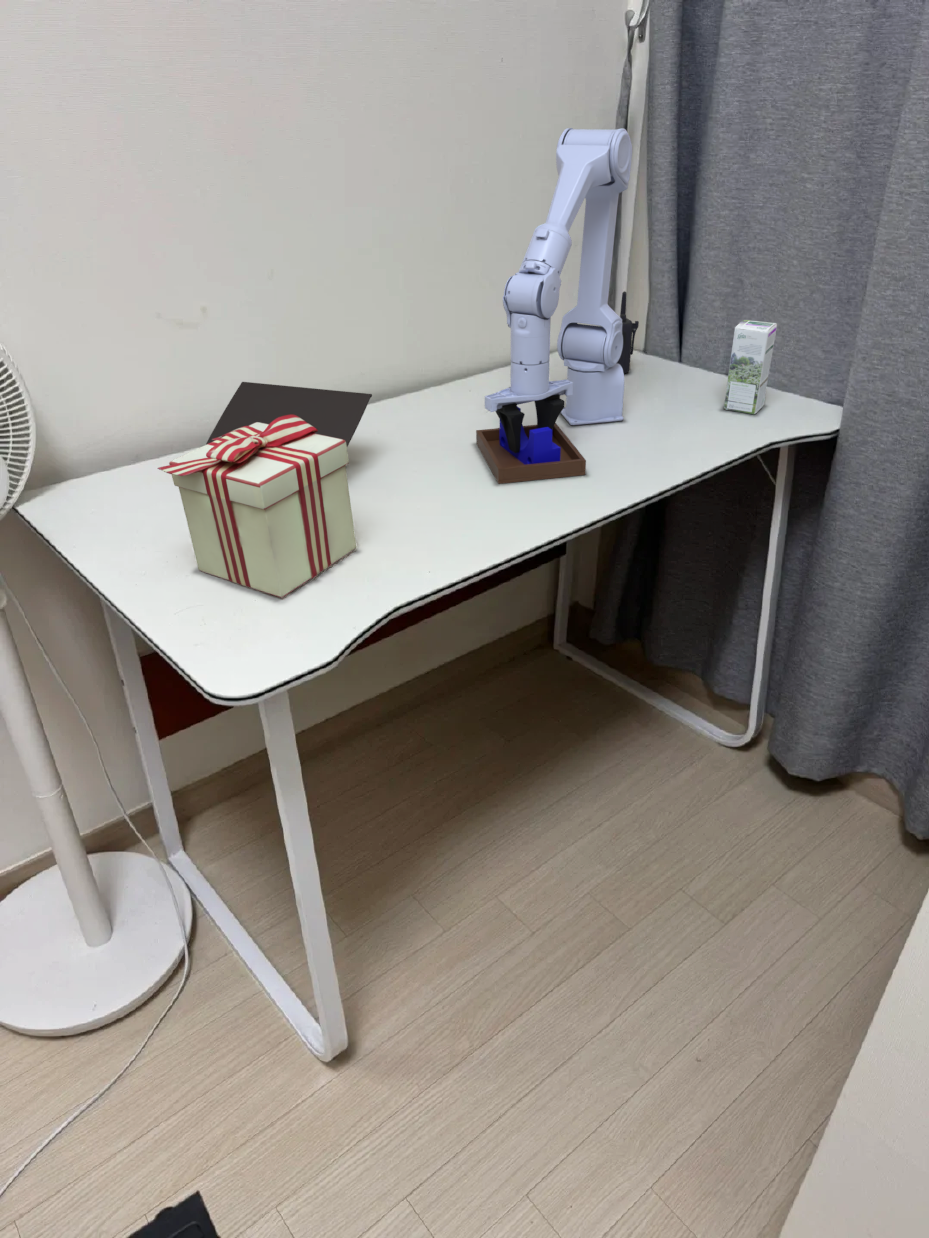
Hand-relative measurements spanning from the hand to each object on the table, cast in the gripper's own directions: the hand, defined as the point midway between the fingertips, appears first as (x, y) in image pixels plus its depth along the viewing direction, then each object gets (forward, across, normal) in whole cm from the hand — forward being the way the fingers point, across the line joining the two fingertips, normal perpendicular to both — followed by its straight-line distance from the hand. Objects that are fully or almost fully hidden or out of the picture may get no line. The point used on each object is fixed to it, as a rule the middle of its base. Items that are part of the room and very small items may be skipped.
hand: (528, 447), depth 134 cm
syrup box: (+2, -44, +1) cm, 44 cm away
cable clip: (+2, 0, 0) cm, 2 cm away
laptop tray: (+2, +36, -14) cm, 39 cm away
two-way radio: (+2, -40, -28) cm, 49 cm away
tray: (+2, 0, 0) cm, 2 cm away
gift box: (+2, +46, +10) cm, 47 cm away
